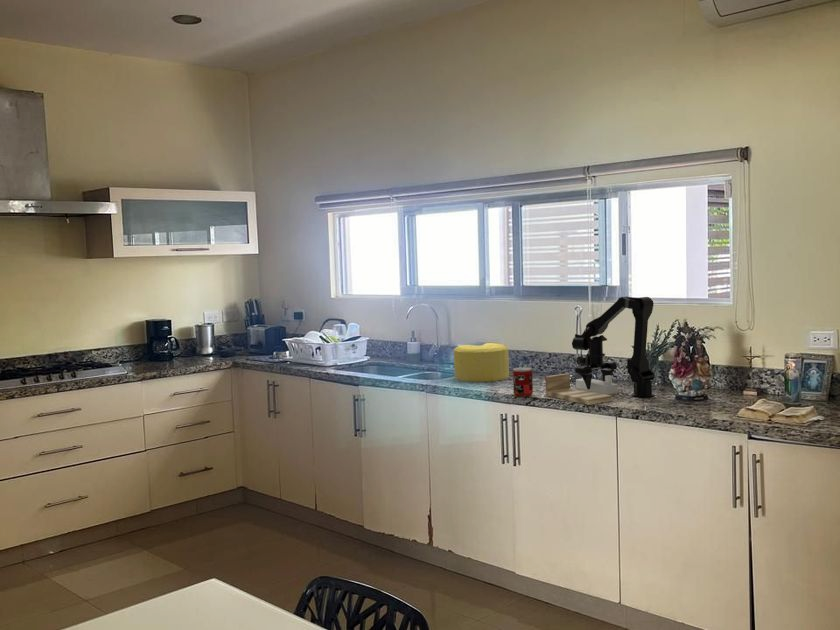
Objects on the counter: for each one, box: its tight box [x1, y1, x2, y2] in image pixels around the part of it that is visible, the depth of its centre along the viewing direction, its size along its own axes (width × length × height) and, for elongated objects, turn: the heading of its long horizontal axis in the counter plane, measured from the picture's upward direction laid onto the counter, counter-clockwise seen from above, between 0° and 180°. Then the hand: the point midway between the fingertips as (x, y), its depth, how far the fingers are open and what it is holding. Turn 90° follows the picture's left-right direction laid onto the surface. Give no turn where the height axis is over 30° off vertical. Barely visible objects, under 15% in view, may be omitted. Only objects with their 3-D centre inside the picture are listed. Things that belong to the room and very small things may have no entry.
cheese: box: [453, 342, 510, 383], centre depth 378 cm, size 26×26×15 cm
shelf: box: [545, 372, 613, 406], centre depth 317 cm, size 26×12×8 cm, turn 31°
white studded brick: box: [575, 375, 619, 395], centre depth 332 cm, size 20×6×8 cm, turn 27°
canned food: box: [512, 366, 534, 397], centre depth 329 cm, size 8×8×11 cm
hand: (596, 388), depth 332 cm, fingers open, 9 cm apart
